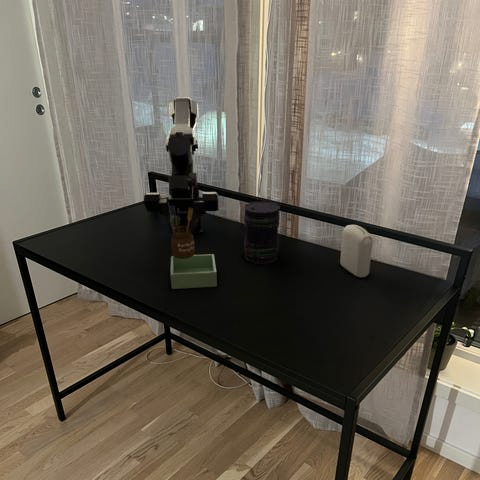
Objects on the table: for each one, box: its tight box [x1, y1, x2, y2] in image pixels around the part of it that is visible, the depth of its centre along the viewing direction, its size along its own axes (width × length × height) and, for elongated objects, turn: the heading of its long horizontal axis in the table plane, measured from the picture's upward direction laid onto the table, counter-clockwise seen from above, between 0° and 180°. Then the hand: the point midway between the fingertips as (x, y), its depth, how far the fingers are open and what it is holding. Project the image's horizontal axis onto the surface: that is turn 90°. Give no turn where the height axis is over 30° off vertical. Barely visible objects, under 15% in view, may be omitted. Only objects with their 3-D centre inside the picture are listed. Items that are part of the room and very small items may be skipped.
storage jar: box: [243, 200, 280, 265], centre depth 145 cm, size 10×10×15 cm
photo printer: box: [339, 224, 374, 278], centre depth 137 cm, size 10×4×12 cm, turn 20°
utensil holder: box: [170, 207, 195, 259], centre depth 131 cm, size 6×6×12 cm
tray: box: [169, 253, 218, 290], centre depth 136 cm, size 12×12×4 cm
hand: (181, 233), depth 129 cm, fingers closed on utensil holder, 5 cm apart
